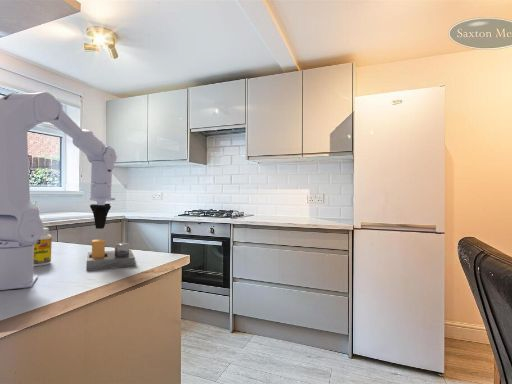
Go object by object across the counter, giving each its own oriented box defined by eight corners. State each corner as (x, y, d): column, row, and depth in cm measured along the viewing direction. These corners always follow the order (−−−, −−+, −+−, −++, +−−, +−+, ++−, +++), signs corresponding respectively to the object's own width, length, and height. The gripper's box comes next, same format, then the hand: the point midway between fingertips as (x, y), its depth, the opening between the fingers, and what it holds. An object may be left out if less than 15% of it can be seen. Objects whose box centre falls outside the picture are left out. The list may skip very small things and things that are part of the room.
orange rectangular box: (91, 266, 82) (92, 241, 82) (91, 263, 85) (92, 239, 85) (104, 265, 83) (104, 241, 83) (104, 262, 86) (104, 239, 86)
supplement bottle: (25, 267, 78) (26, 230, 78) (27, 263, 83) (28, 227, 83) (50, 265, 81) (51, 229, 81) (51, 261, 86) (52, 226, 86)
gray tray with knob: (86, 270, 77) (86, 249, 77) (87, 260, 88) (88, 242, 88) (134, 266, 83) (135, 247, 83) (130, 257, 94) (131, 240, 94)
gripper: (116, 184, 87) (115, 229, 87) (114, 184, 99) (113, 224, 99) (89, 183, 83) (88, 230, 83) (90, 183, 96) (89, 224, 96)
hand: (99, 226), depth 91 cm, fingers open, 7 cm apart
